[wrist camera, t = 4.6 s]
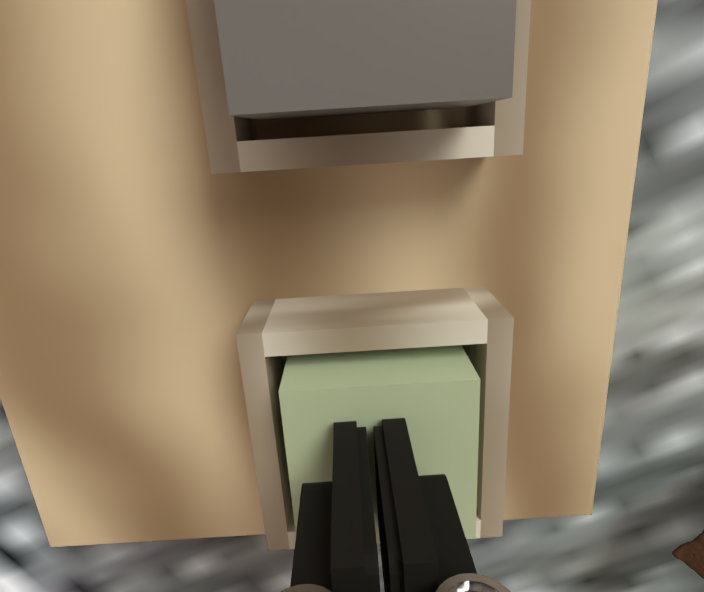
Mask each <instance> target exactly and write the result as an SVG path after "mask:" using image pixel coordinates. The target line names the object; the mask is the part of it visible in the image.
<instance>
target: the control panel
mask: <svg viewBox="0 0 704 592" xmlns="http://www.w3.org/2000/svg"><path fill="white" fill-rule="evenodd" d="M657 1H658V0H517V5H516V27H515V49H514V71H513V93H512V98H508V99H503V100H498V101H494V102H489V103H484V104H479V105H475V106H470V107H465V108H449V109H433V110H416V111H400V112H384V113H368V114H352V115H336V116H320V117H304V118H288V119H272V120H256V119H250V118H244V117H238V116H231V115H229V110H228V103H227V95H226V87H225V80H224V72H223V65H222V57H221V50H220V42H219V35H218V27H217V19H216V12H215V4H214V0H0V398H1V401H2V404H3V407H4V410H5V413H6V416H7V419H8V421H9V424H10V427H11V430H12V433H13V436H14V439H15V442H16V445H17V448H18V451H19V454H20V457H21V460H22V463H23V466H24V469H25V472H26V475H27V478H28V481H29V484H30V487H31V490H32V493H33V496H34V499H35V502H36V505H37V508H38V511H39V514H40V517H41V520H42V523H43V526H44V529H45V532H46V535H47V538H48V541H49V543H50V546H51V547H61V546H77V545H94V544H111V543H127V542H144V541H161V540H177V539H194V538H211V537H227V536H244V535H261V534H265V536H266V542H267V549H268V551H271V550H287V549H295V541H296V530H295V522H294V514H293V506H292V498H291V490H290V482H289V473H288V465H287V457H286V449H285V441H284V433H283V425H282V416H281V408H280V400H279V388H280V384H281V380H282V376H283V372H284V368H285V364H286V360H287V356H289V355H305V354H322V353H338V352H354V351H371V350H387V349H404V348H420V347H436V346H453V345H462V347H463V349H464V351H465V353H466V354H467V356H468V358H469V360H470V362H471V363H472V365H473V367H474V369H475V371H476V372H477V374H478V376H479V378H480V411H479V443H478V476H477V508H476V538H487V537H502V532H503V520H511V519H527V518H544V517H561V516H577V515H592V509H593V501H594V493H595V485H596V477H597V470H598V462H599V454H600V446H601V438H602V431H603V423H604V415H605V407H606V399H607V391H608V384H609V376H610V368H611V360H612V352H613V345H614V337H615V329H616V321H617V313H618V305H619V298H620V290H621V282H622V274H623V266H624V259H625V251H626V243H627V235H628V227H629V220H630V212H631V204H632V196H633V188H634V180H635V173H636V165H637V157H638V149H639V141H640V134H641V126H642V118H643V110H644V102H645V95H646V87H647V79H648V71H649V63H650V55H651V48H652V40H653V32H654V24H655V16H656V9H657ZM466 539H471V538H466Z"/></svg>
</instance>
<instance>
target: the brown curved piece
mask: <svg viewBox="0 0 704 592" xmlns="http://www.w3.org/2000/svg"><path fill="white" fill-rule="evenodd" d="M672 554H673V555H674V556H675V557H676V558H678V559H680V560H682V561H683V562H685V563H686V564H687V565H688V566H689V567H690V568H692V569H693V570H694V571H695V572H697V573H698V574H699V575H700V576H701V577H702V578H704V530H703V532H702V533H701V534H700V535H699V536H698V537H696V538H695V539H694V540H693V541H691V542H687V543H684V544H682V545H680V546H679V547H678V548H677V549H675V550H674V551H673V552H672Z"/></svg>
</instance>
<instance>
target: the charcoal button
mask: <svg viewBox="0 0 704 592" xmlns="http://www.w3.org/2000/svg"><path fill="white" fill-rule="evenodd" d="M214 4H215V12H216V19H217V27H218V35H219V42H220V50H221V57H222V65H223V72H224V80H225V87H226V95H227V103H228V110H229V115H231V116H238V117H244V118H250V119H256V120H272V119H288V118H304V117H320V116H336V115H352V114H368V113H384V112H400V111H416V110H433V109H449V108H465V107H470V106H475V105H479V104H484V103H489V102H494V101H498V100H503V99H508V98H512V93H513V71H514V49H515V27H516V5H517V0H214Z"/></svg>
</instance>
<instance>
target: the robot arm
mask: <svg viewBox="0 0 704 592" xmlns="http://www.w3.org/2000/svg"><path fill="white" fill-rule="evenodd" d="M373 434H374V453H375V472H376V491H377V511H378V527H379V538H380V548H381V558H382V569H383V579H384V589H385V592H510V591H509V590H508V589H507V588H506V587H504V586H503V585H502V584H501V583H499V582H498V581H496V580H494V579H492V578H489V577H487V576H484V575H479V574H477V572H476V569H475V566H474V563H473V560H472V556H471V553H470V550H469V547H468V544H467V540H466V537H465V534H464V531H463V528H462V524H461V521H460V518H459V515H458V512H457V508H456V505H455V502H454V499H453V496H452V492H451V489H450V486H449V483H448V480H447V477H446V475H445V474H436V475H421V476H418V471H417V467H416V463H415V459H414V454H413V450H412V446H411V441H410V437H409V433H408V428H407V424H406V420H405V418H394V419H382V426H373ZM281 592H380V583H379V567H378V554H377V543H376V531H375V520H374V509H373V498H372V487H371V476H370V465H369V454H368V443H367V432H366V427H357V421H348V422H334V426H333V472H332V481H329V482H314V483H303V484H302V487H301V495H300V504H299V513H298V522H297V531H296V541H295V550H294V559H293V568H292V577H291V586H290V588H287V589H284V590H283V591H281Z"/></svg>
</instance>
